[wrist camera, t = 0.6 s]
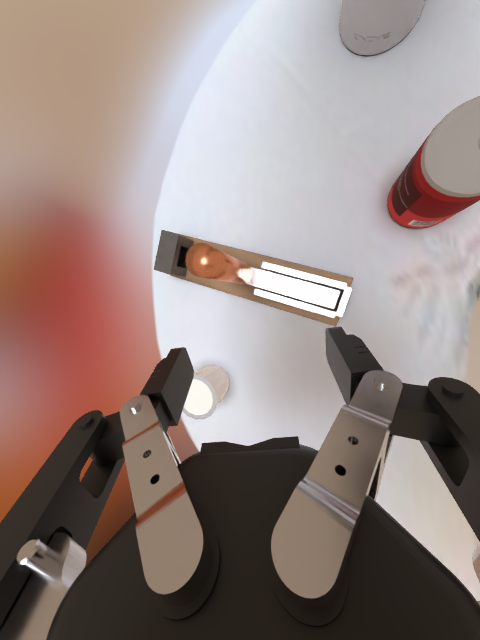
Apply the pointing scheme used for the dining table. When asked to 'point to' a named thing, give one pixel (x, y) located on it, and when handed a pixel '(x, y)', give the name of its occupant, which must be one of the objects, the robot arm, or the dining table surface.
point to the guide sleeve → (314, 279)
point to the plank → (248, 290)
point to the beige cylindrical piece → (206, 392)
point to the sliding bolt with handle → (253, 276)
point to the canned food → (441, 172)
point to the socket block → (172, 253)
